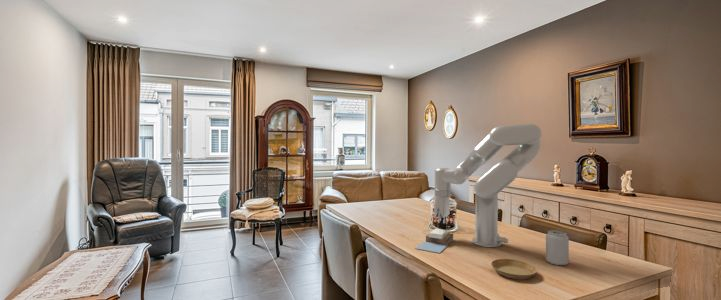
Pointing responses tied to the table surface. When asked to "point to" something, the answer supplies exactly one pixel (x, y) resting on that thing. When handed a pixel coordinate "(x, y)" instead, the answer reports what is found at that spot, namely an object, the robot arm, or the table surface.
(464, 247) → the table surface
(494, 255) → the table surface
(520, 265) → the plant saucer
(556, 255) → the can
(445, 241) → the step
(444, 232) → the tile
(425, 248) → the mat
